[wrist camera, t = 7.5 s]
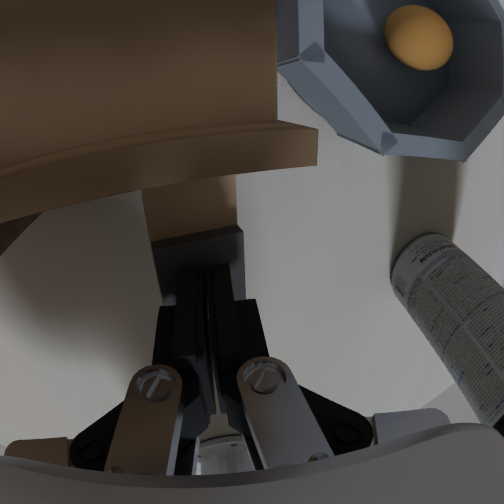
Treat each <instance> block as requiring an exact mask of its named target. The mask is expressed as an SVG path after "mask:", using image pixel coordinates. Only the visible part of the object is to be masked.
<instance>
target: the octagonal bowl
mask: <svg viewBox="0 0 504 504" xmlns="http://www.w3.org/2000/svg"><path fill="white" fill-rule="evenodd" d="M275 1H276V41H277V71H278V72H279V73H280V74H281V75H282V76H283V77H284V78H285V79H286V80H287V81H288V83H289V84H290V86H291V87H292V89H293V90H294V91H295V92H296V93H297V95H298V96H299V97H300V98H301V99H302V100H303V101H304V102H305V103H306V104H307V105H308V106H309V107H310V108H311V109H312V110H314V111H315V112H317V113H318V114H319V115H321V116H322V117H323V118H324V119H325V120H326V121H327V122H328V124H329V125H330V126H331V127H332V128H333V129H334V130H335V131H336V133H337V135H338V136H340V137H343V138H345V139H347V140H350V141H352V142H354V143H356V144H359V145H361V146H363V147H365V148H367V149H369V150H372V151H374V152H376V153H378V154H380V155H382V156H384V155H401V156H415V157H427V158H438V159H448V160H457V161H461V162H463V163H464V162H466V160H467V159H468V157H469V156H470V155H471V154H472V153H473V152H474V151H475V149H476V148H477V147H478V146H479V145H480V143H481V142H482V141H483V140H484V139H485V138H486V136H487V135H488V134H489V133H490V132H491V130H492V129H493V128H494V127H495V125H496V124H497V123H498V122H499V120H500V119H501V118H502V117H503V115H504V10H503V8H502V7H501V5H500V3H499V1H498V0H275ZM406 5H419V6H423V7H426V8H428V9H430V10H432V11H434V12H435V13H437V14H438V15H439V16H440V17H441V18H442V19H443V20H444V21H445V22H446V23H447V25H448V27H449V28H450V31H451V33H452V37H453V51H452V54H451V56H450V58H449V60H448V61H447V62H446V63H445V64H444V65H443V66H441V67H439V68H437V69H434V70H427V71H425V70H417V69H414V68H411V67H409V66H407V65H405V64H403V63H402V62H401V61H399V60H398V59H397V58H396V57H395V56H394V55H393V53H392V52H391V51H390V49H389V47H388V45H387V42H386V39H385V32H384V31H385V24H386V21H387V19H388V17H389V16H390V14H391V13H392V12H393V11H394V10H396V9H398V8H400V7H402V6H406Z"/></svg>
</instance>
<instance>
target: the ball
mask: <svg viewBox="0 0 504 504" xmlns="http://www.w3.org/2000/svg"><path fill="white" fill-rule="evenodd" d="M384 32H385V39H386V42H387V45H388V47H389V49H390V51H391V52H392V53H393V55H394V56H395V57H396V58H397V59H398V60H399V61H401V62H402V63H403V64H405V65H407V66H409V67H411V68H414V69H417V70H425V71H427V70H434V69H437V68H439V67H441V66H443V65H444V64H445V63H446V62H447V61H448V60H449V58H450V56H451V54H452V51H453V37H452V33H451V31H450V28H449V27H448V25H447V23H446V22H445V21H444V20H443V19H442V18H441V17H440V16H439V15H438V14H437V13H435V12H434V11H432V10H430V9H428V8H426V7H423V6H419V5H406V6H402V7H400V8H398V9H396V10H394V11H393V12H392V13H391V14H390V16H389V17H388V19H387V21H386V24H385V31H384Z"/></svg>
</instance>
